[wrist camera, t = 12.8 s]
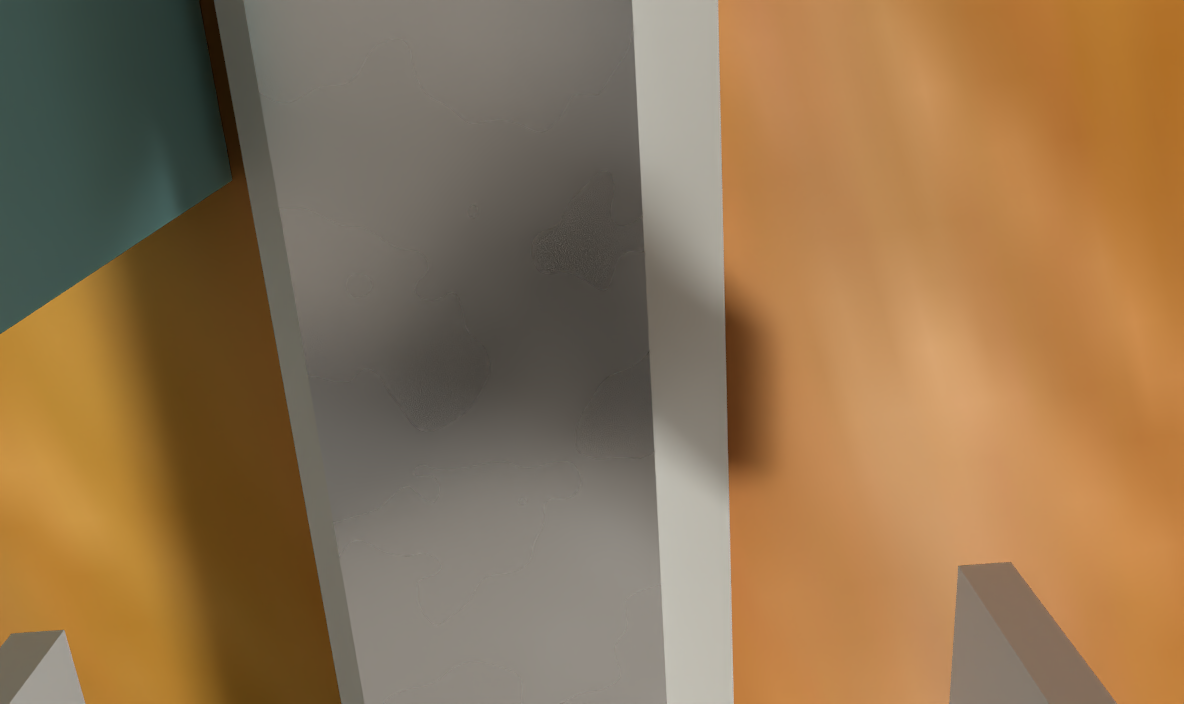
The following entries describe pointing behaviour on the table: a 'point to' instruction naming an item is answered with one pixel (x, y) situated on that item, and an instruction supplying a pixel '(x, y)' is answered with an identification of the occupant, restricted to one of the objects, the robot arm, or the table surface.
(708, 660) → the white flat board
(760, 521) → the table surface
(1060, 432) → the table surface
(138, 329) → the table surface
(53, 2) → the post
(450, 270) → the rail
